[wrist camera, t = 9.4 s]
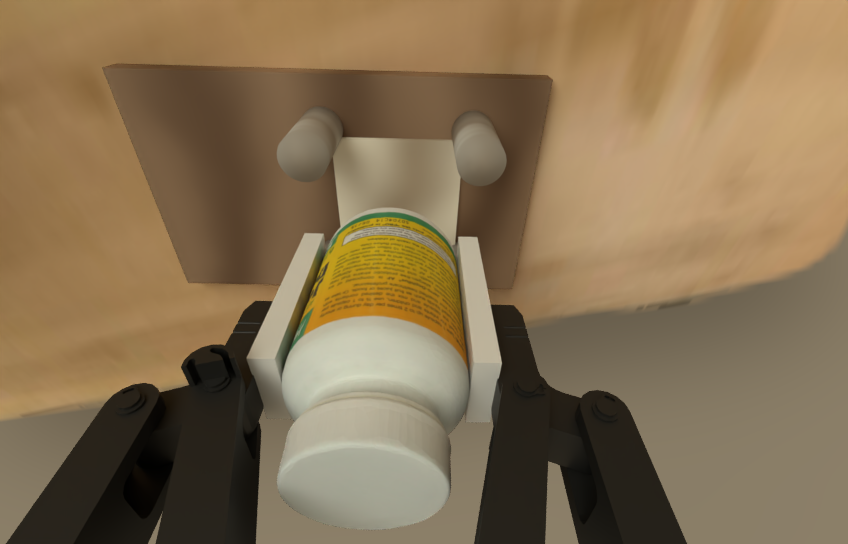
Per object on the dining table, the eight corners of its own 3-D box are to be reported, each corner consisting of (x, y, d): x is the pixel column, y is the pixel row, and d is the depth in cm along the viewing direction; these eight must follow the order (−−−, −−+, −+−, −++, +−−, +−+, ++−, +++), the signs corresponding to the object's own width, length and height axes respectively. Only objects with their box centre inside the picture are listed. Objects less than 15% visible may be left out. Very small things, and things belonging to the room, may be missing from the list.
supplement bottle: (453, 308, 19) (473, 545, 11) (336, 308, 19) (273, 544, 11) (459, 201, 16) (492, 427, 8) (318, 201, 16) (211, 426, 8)
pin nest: (195, 273, 26) (153, 328, 22) (115, 63, 19) (31, 88, 15) (509, 279, 26) (525, 334, 22) (547, 75, 19) (580, 102, 15)
